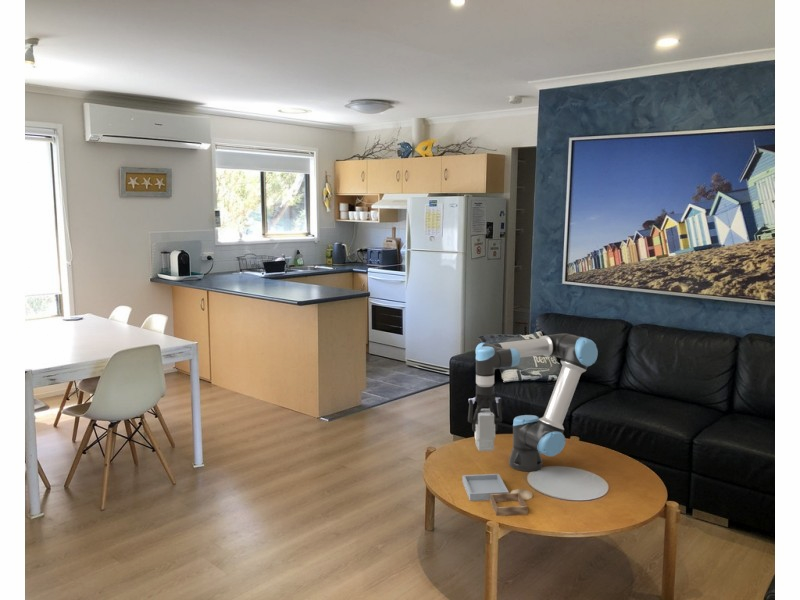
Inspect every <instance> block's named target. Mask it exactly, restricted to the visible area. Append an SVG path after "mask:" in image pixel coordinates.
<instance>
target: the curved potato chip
mask: <svg viewBox="0 0 800 600" xmlns="http://www.w3.org/2000/svg"><path fill="white" fill-rule="evenodd" d="M509 493H520V495H521V496H522V498H523V500H524V501H528V500H531V499H532V498H533V497H534V496H533V492H531V491H530V490H528V489H522V488H517V489H513V490H511V491H510V492H509Z"/></svg>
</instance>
